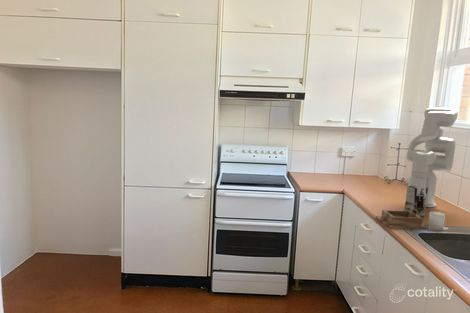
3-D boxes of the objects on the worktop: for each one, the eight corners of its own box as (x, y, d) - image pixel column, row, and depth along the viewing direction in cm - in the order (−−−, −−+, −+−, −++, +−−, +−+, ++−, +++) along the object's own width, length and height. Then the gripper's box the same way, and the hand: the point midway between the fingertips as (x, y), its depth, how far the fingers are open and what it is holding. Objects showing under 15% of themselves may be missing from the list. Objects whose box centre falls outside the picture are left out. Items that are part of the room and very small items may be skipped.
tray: (375, 217, 186) (376, 208, 185) (410, 218, 187) (411, 209, 186) (390, 228, 170) (391, 218, 170) (427, 229, 171) (429, 219, 171)
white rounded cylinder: (424, 224, 179) (426, 211, 178) (437, 224, 179) (439, 211, 178) (433, 229, 172) (434, 215, 171) (446, 229, 172) (448, 215, 171)
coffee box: (413, 217, 189) (416, 188, 186) (403, 213, 195) (406, 185, 192) (425, 215, 193) (428, 187, 190) (415, 212, 199) (418, 184, 196)
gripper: (403, 171, 198) (400, 200, 201) (421, 178, 181) (417, 210, 184) (416, 171, 199) (413, 201, 202) (435, 178, 182) (431, 210, 185)
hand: (415, 205), depth 193 cm, fingers closed on coffee box, 8 cm apart
